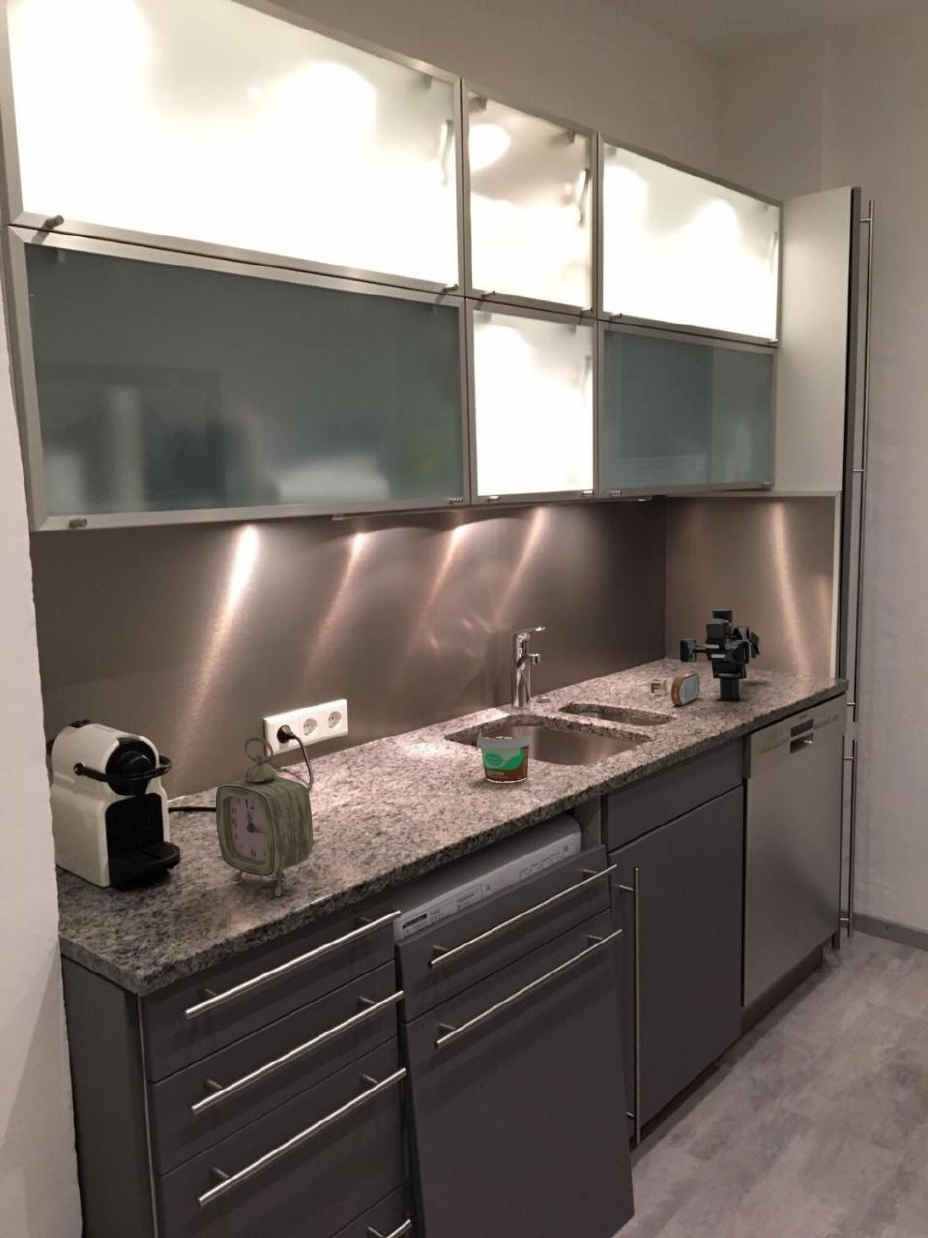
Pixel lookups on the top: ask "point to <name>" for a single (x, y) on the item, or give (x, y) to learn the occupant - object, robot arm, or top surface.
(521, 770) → the food container
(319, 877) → the top surface
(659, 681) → the letter cube
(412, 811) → the top surface
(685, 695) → the tin
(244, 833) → the tabletop clock
